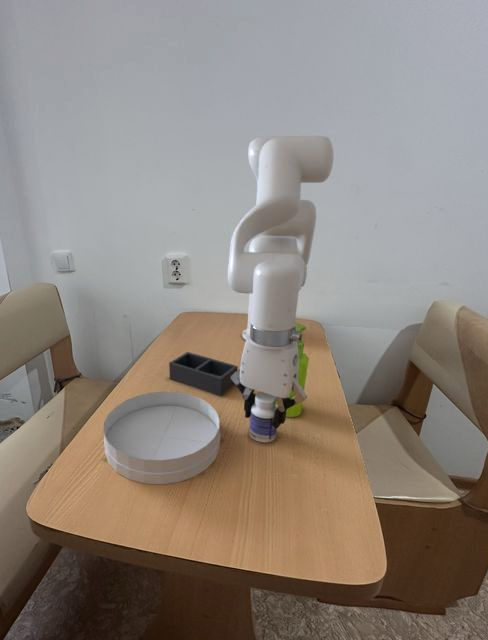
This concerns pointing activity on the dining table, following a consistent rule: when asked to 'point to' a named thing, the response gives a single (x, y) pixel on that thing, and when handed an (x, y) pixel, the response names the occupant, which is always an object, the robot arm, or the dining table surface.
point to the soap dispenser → (299, 374)
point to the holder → (203, 373)
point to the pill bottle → (263, 418)
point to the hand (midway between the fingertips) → (263, 418)
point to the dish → (161, 437)
